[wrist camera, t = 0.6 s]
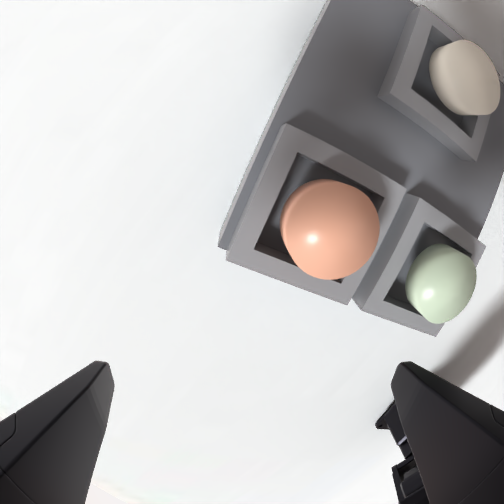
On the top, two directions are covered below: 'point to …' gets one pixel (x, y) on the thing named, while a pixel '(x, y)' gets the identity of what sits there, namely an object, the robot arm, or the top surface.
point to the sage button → (440, 283)
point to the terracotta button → (329, 228)
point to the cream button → (465, 78)
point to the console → (371, 154)
